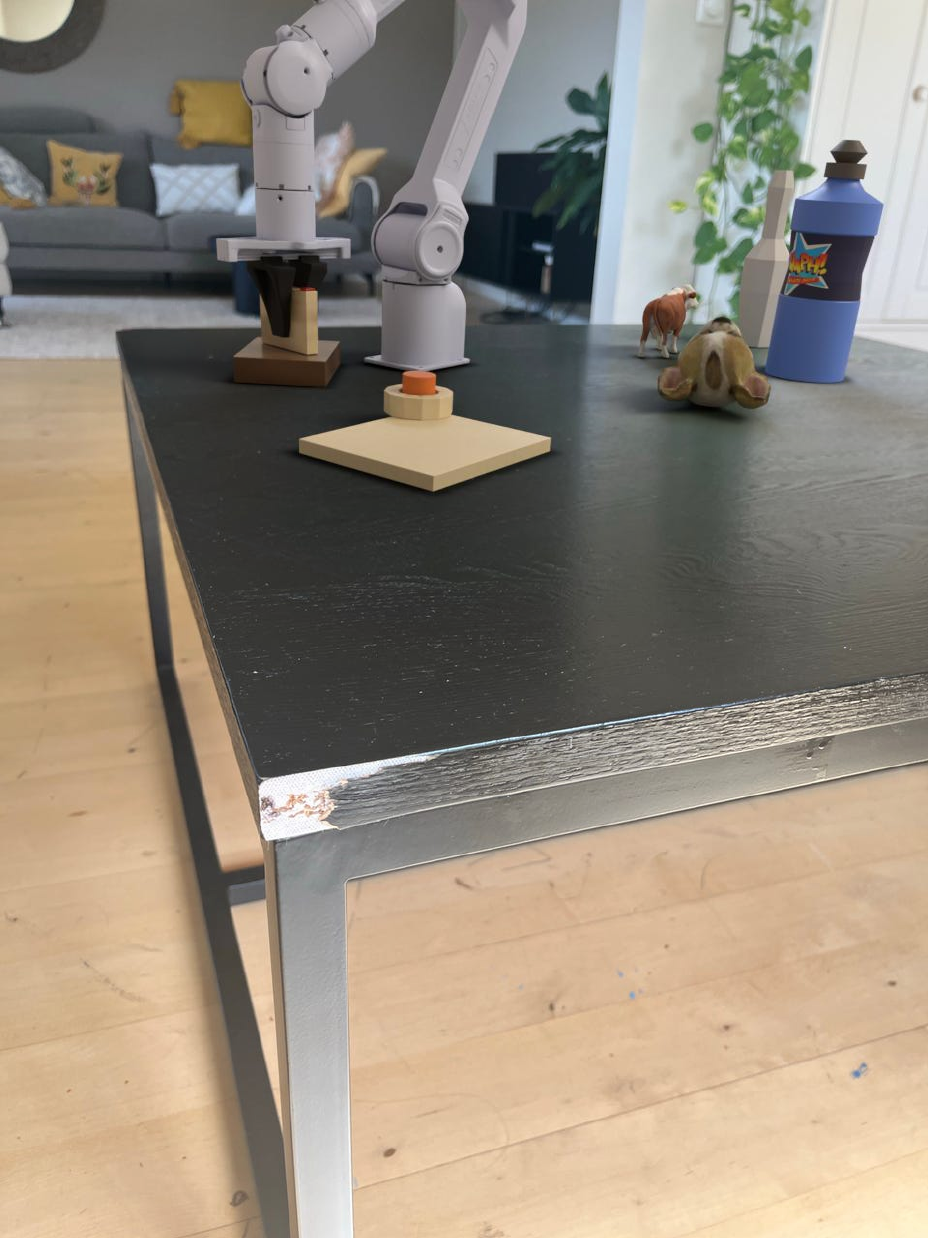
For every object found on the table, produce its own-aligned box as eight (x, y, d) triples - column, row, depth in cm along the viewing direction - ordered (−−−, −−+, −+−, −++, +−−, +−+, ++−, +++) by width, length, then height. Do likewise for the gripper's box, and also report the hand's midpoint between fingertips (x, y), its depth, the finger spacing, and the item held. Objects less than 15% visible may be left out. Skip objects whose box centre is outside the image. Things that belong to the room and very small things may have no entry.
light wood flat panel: (261, 342, 100) (259, 279, 97) (272, 341, 101) (270, 279, 98) (307, 354, 95) (305, 289, 92) (318, 353, 96) (317, 288, 93)
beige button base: (413, 414, 85) (414, 380, 84) (559, 449, 77) (562, 412, 76) (277, 447, 73) (276, 409, 72) (432, 492, 65) (434, 449, 64)
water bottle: (809, 385, 108) (860, 137, 97) (746, 369, 115) (788, 137, 104) (861, 379, 112) (915, 143, 102) (798, 365, 119) (842, 142, 109)
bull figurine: (697, 349, 126) (707, 284, 123) (659, 362, 116) (668, 292, 112) (666, 345, 128) (675, 281, 125) (626, 357, 118) (634, 288, 114)
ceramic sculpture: (776, 307, 97) (784, 338, 84) (761, 391, 101) (766, 433, 89) (670, 300, 99) (662, 328, 86) (660, 383, 103) (650, 422, 91)
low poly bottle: (782, 349, 130) (816, 171, 120) (736, 347, 130) (766, 168, 120) (769, 341, 136) (801, 171, 126) (725, 339, 136) (753, 168, 126)
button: (416, 389, 82) (417, 369, 82) (441, 395, 81) (442, 374, 80) (395, 394, 80) (395, 373, 80) (420, 400, 79) (421, 378, 78)
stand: (257, 360, 104) (256, 336, 103) (340, 364, 104) (340, 341, 103) (233, 382, 93) (232, 356, 92) (325, 387, 94) (325, 361, 93)
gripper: (243, 189, 84) (250, 347, 90) (370, 193, 94) (368, 335, 100) (201, 185, 89) (210, 335, 94) (326, 189, 98) (327, 325, 104)
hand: (288, 335), depth 97 cm, fingers closed on light wood flat panel
